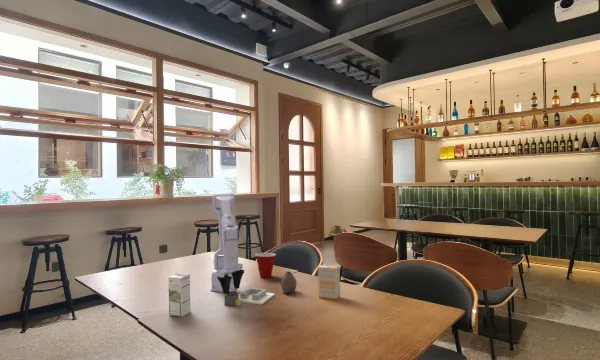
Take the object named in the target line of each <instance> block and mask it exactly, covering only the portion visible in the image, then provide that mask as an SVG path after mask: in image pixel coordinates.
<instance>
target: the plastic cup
mask: <svg viewBox="0 0 600 360" xmlns="http://www.w3.org/2000/svg"><path fill="white" fill-rule="evenodd" d="M276 256H277V254H276V253H274V252H273V253H272V252H258V253H255V257H256V263H257V267H258V274H259V277H260V278H261V279H269V278H272V276H273V275H272V274H273V269H274V268H273V267H274V261H275V258H276Z"/></svg>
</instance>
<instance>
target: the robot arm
mask: <svg viewBox="0 0 600 360" xmlns="http://www.w3.org/2000/svg"><path fill="white" fill-rule="evenodd" d="M211 200H212V201H211V202H212V210H213V213H215V214H216V215H217V218H218V235H219V237H218V240H219V241H218V242H219V249H217V250H216V251H215V252H214V253H213V269H214V270H213V271H212V272H211V279H210V280H211V289H210V291H213V292H220V293H223V294H225V295H226V294H229V290H230V289H236V290H237V289H240V285H241V282H242V278H243V276H244V273H245V269H243V268H244V267H243V266H244V264H243V263H239V241H240V229H239V228H240V227H239V226H238V225H237V223H236V217H235V216H234V214H232V212H233V211H234V208H235V205H236V197H235V194H234V192H232V193H213V194H212V199H211Z"/></svg>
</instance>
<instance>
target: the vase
mask: <svg viewBox="0 0 600 360" xmlns="http://www.w3.org/2000/svg"><path fill="white" fill-rule="evenodd" d="M280 281H281V282H280V287H281V290H282V292H284V293H285V294H292V293H294V292H295V291H296V289H297V279H296V277H295V276H294V275H293V273H292V272H291V271H285V273H284V275H283V277H282V278H281V280H280Z"/></svg>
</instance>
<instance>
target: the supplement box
mask: <svg viewBox="0 0 600 360" xmlns="http://www.w3.org/2000/svg"><path fill="white" fill-rule="evenodd" d="M317 271H318V272H317V275H318V276H317V278H318V281H317V282H318V298H319V299H327V300H328V299H329V300H335V301H337V300H339V299H340V298H341V277H340V273H341V272H340V265H331V264H321V265H319V266H318V267H317Z"/></svg>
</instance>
